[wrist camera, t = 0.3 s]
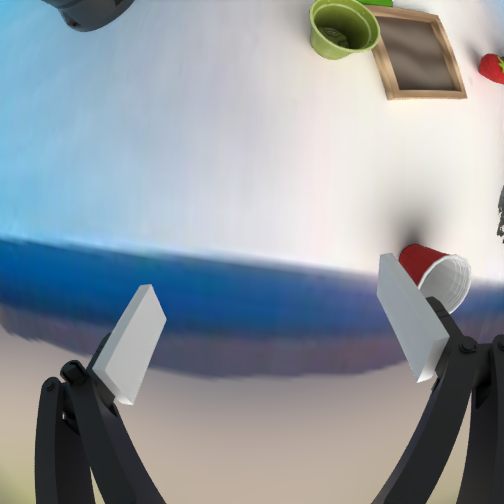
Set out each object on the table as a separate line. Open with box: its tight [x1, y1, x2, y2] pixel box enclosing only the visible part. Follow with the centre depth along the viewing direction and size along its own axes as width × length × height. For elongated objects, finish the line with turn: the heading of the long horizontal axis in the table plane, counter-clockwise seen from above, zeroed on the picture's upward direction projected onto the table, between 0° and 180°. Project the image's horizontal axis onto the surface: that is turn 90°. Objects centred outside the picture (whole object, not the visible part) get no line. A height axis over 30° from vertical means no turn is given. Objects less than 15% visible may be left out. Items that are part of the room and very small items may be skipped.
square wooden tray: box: [364, 5, 467, 100], centre depth 29 cm, size 17×17×2 cm
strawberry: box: [479, 54, 504, 84], centre depth 24 cm, size 6×8×10 cm
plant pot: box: [309, 0, 380, 60], centre depth 27 cm, size 9×9×9 cm
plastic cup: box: [399, 244, 472, 314], centre depth 37 cm, size 11×11×12 cm
